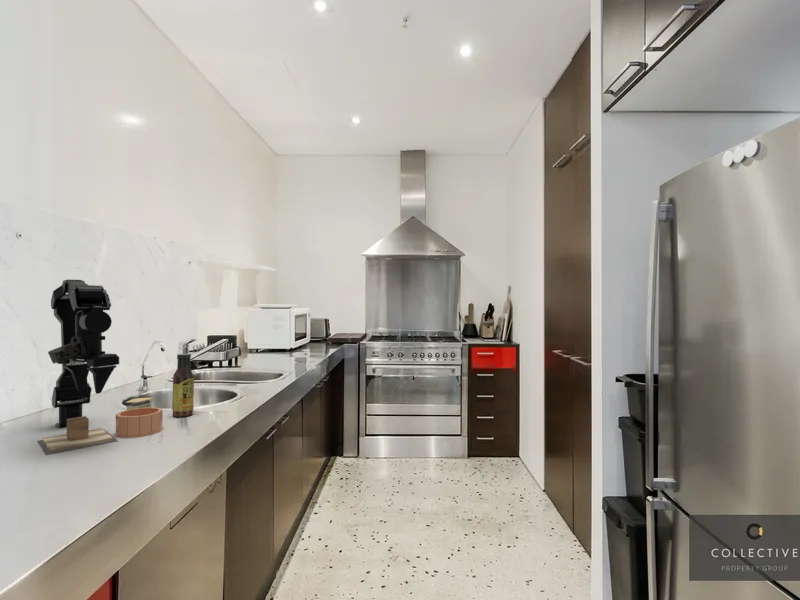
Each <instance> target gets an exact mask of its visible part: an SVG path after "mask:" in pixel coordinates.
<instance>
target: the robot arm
mask: <svg viewBox="0 0 800 600" xmlns="http://www.w3.org/2000/svg"><path fill="white" fill-rule="evenodd" d="M111 307H112V303H111V300H110V297H109V294H108V293H107V290H106V289H104V286H103V285H92V284H91V285H89V284H88V283H86V281H84V280H82V279H64V280H63V281H62V284H61V285H59V286H58V287H57V288H56V289H54V290H53V291H52V296H51V299H50V308H51V309H52V310H53V316H54V317H55V318H56V320H57V321H58V322H59V323H60V338H61V342H60V343H61V346H59V347H56V348H54V349H52V350H49V351H47V353H48V355H49V358H50V360H51V362H52V364H58V365H61V373H60V375H59V377H58V378H57V379H56V381H55V386H54V387H53V391H52V396H51V406H52V407H53V408H54V409H57V408H58V422H55V427H57V428H58V429H63V428H64V429H65V428H67V419H70V418H76V417H83V405H84V404H90V403H91V395H92V389H93V388H92V387H91V385H90V383H89V382H88V375H89V372H90V373H91V374H92V379H93V384H94V385H93V387H94V392H95V394H101V393H102V391H103V389H104V388H105V386H106V384H107V382H108V380H109V378H110V376H111V375H112V373H113V372H114V369H116V368H117V365H120V356H119V355H117V354H116V353H106V351H105V350H103V346H102V345H103V343H102V342H103V341H105V340H106V335H103V333H105V332H107V331H108V330H109V329H110V328H111V326H112V323H113V322H112V318H111V316H110V315H109V314H108V313H107V311H110V310H111Z"/></svg>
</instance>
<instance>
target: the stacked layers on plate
mask: <svg viewBox="0 0 800 600" xmlns="http://www.w3.org/2000/svg"><path fill="white" fill-rule="evenodd" d="M150 400H153V398H152V397H141V398H139V397H136V398H131V399H130V400H128V401H126V403H130V404H127V405H125V408H126V410H130V409H136V408H148V407H152V403H153V402H152V401H150Z"/></svg>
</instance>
